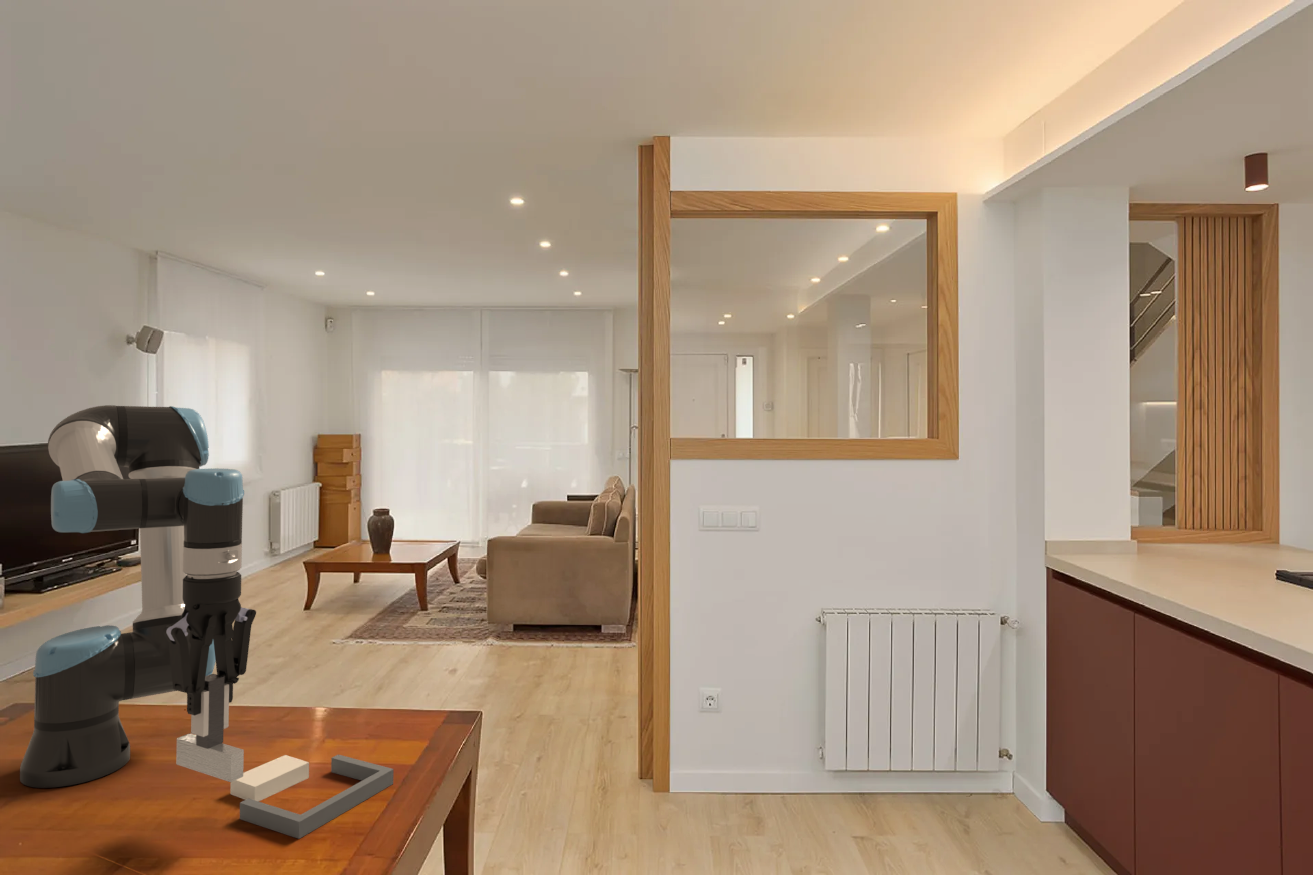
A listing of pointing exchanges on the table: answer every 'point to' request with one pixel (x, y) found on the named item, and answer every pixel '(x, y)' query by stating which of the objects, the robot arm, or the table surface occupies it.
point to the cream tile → (270, 778)
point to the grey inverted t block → (211, 741)
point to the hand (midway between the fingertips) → (209, 729)
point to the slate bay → (301, 825)
